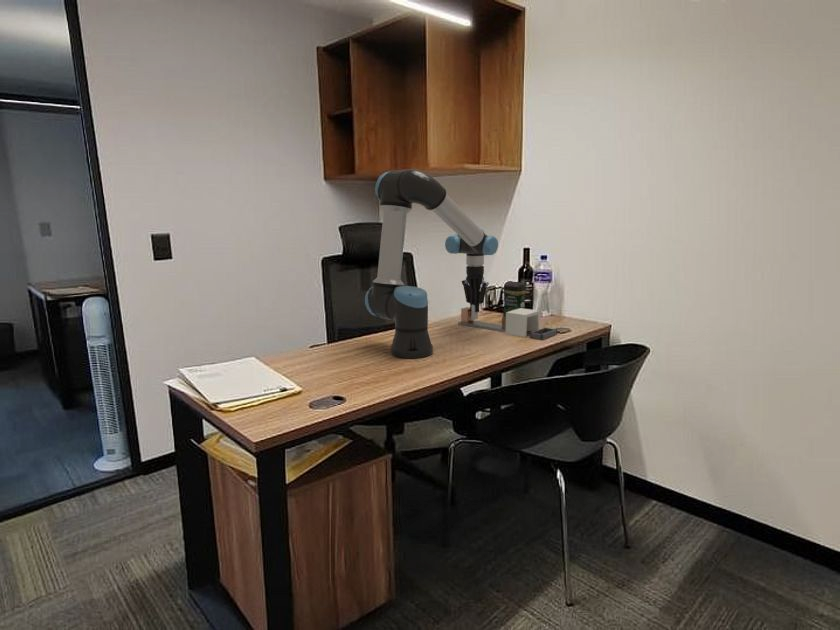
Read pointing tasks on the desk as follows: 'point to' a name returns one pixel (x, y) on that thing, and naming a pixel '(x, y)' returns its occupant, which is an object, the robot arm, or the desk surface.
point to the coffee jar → (514, 296)
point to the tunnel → (522, 321)
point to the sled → (468, 321)
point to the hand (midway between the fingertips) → (474, 319)
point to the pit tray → (543, 333)
